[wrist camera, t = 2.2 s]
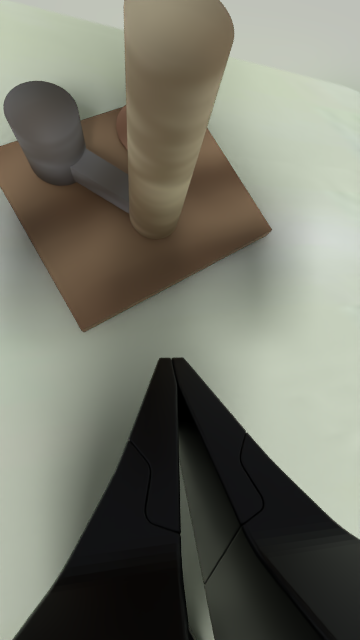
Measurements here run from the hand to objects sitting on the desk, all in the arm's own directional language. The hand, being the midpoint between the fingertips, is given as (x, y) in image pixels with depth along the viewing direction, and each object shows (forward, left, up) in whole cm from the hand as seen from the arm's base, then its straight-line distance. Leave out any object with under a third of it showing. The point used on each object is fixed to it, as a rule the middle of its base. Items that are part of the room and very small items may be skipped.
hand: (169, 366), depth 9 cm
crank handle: (+12, -3, -7) cm, 14 cm away
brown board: (+11, -5, -8) cm, 14 cm away
